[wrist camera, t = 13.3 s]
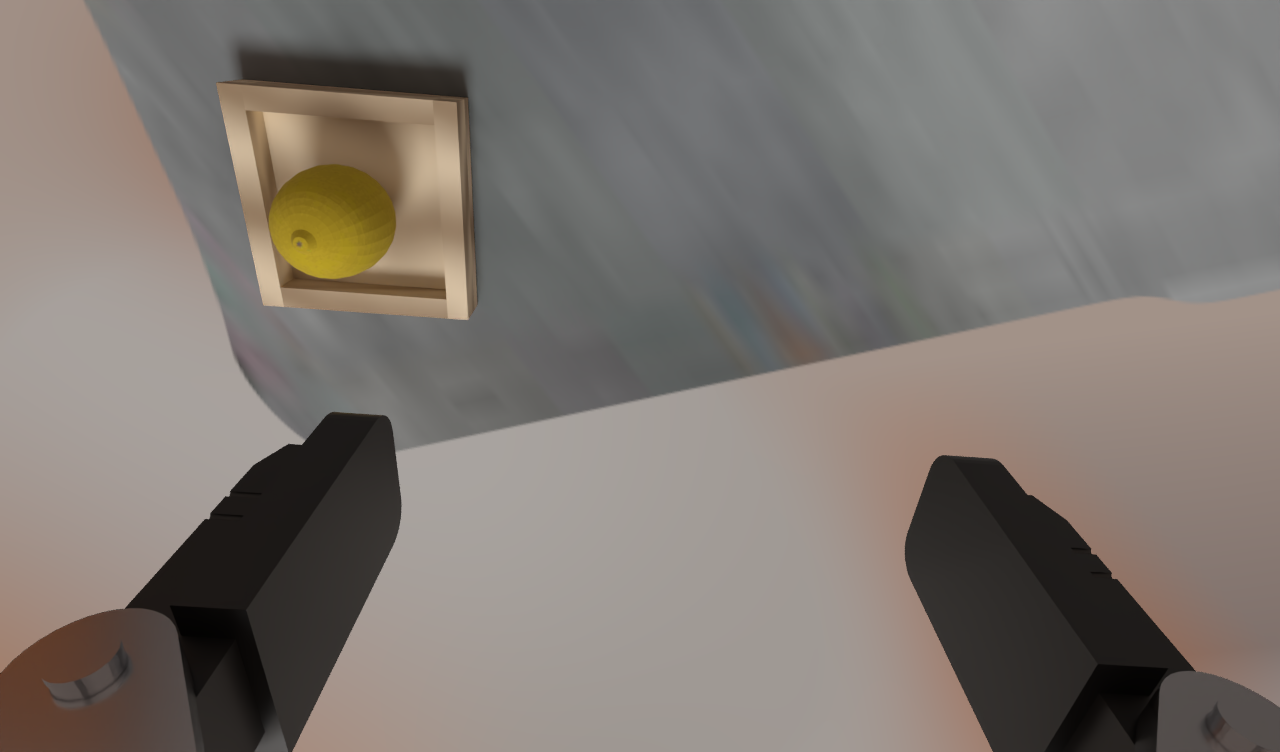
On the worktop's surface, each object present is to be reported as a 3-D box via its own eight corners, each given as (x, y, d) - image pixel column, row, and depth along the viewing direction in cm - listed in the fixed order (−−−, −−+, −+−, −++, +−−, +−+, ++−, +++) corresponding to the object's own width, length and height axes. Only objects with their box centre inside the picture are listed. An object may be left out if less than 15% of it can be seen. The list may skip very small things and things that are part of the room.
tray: (242, 79, 35) (215, 82, 33) (467, 97, 35) (456, 102, 33) (283, 290, 40) (263, 305, 38) (477, 304, 41) (468, 319, 39)
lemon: (362, 130, 35) (290, 157, 28) (435, 213, 37) (385, 257, 30) (295, 192, 37) (211, 231, 30) (368, 268, 39) (307, 321, 32)
